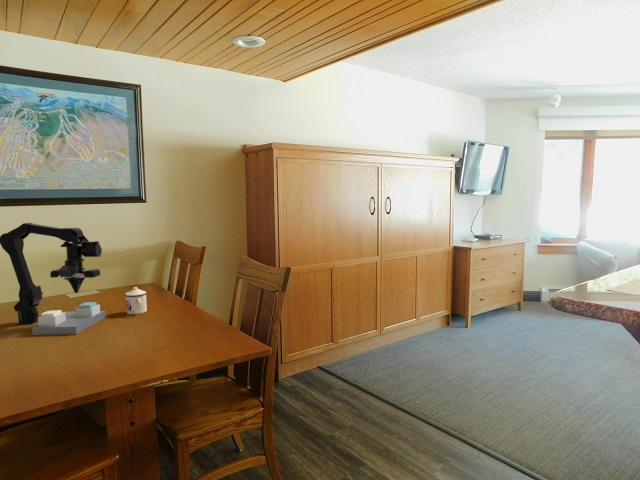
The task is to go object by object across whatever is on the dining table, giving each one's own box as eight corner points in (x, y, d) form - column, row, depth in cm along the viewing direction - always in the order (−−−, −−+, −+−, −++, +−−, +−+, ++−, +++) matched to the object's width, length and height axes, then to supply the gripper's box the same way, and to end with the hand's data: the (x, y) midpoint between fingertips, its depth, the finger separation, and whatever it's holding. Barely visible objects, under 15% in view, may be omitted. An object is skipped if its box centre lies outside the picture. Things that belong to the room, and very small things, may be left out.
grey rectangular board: (32, 335, 163) (31, 318, 163) (67, 318, 186) (66, 303, 186) (76, 334, 164) (75, 317, 163) (105, 317, 186) (104, 303, 186)
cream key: (41, 321, 166) (41, 313, 166) (49, 317, 171) (49, 310, 171) (54, 320, 166) (53, 313, 166) (62, 317, 171) (61, 310, 171)
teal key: (79, 312, 178) (78, 305, 178) (85, 309, 183) (84, 302, 183) (90, 312, 178) (90, 305, 178) (96, 308, 183) (96, 302, 183)
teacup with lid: (124, 311, 195) (122, 287, 194) (144, 308, 201) (143, 284, 199) (129, 317, 186) (128, 291, 184) (151, 313, 191) (149, 288, 190)
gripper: (40, 259, 172) (42, 297, 173) (85, 260, 172) (87, 297, 173) (57, 256, 183) (59, 291, 184) (100, 256, 183) (101, 291, 184)
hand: (76, 292), depth 181 cm, fingers closed
